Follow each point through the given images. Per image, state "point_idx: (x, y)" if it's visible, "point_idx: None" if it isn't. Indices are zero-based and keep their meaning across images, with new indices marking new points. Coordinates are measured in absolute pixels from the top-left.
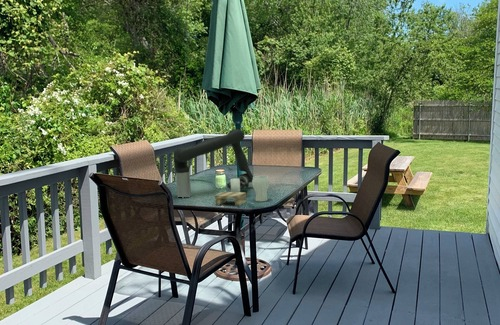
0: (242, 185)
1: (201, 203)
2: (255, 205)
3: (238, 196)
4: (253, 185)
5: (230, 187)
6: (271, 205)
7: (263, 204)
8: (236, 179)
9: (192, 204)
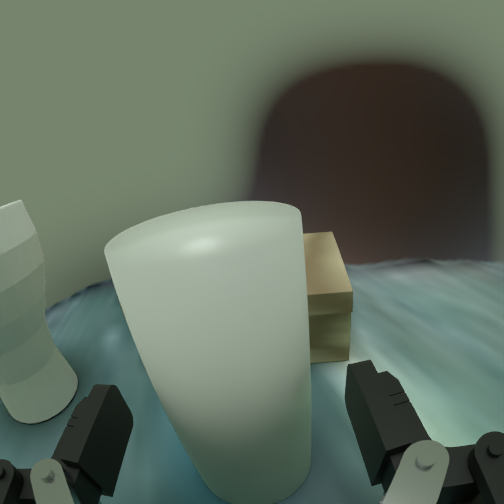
0: (104, 385)
1: (445, 293)
2: (107, 309)
3: None
4: (43, 261)
5: (351, 409)
6: (48, 312)
7: (68, 322)
8: (169, 219)
9: (465, 274)
